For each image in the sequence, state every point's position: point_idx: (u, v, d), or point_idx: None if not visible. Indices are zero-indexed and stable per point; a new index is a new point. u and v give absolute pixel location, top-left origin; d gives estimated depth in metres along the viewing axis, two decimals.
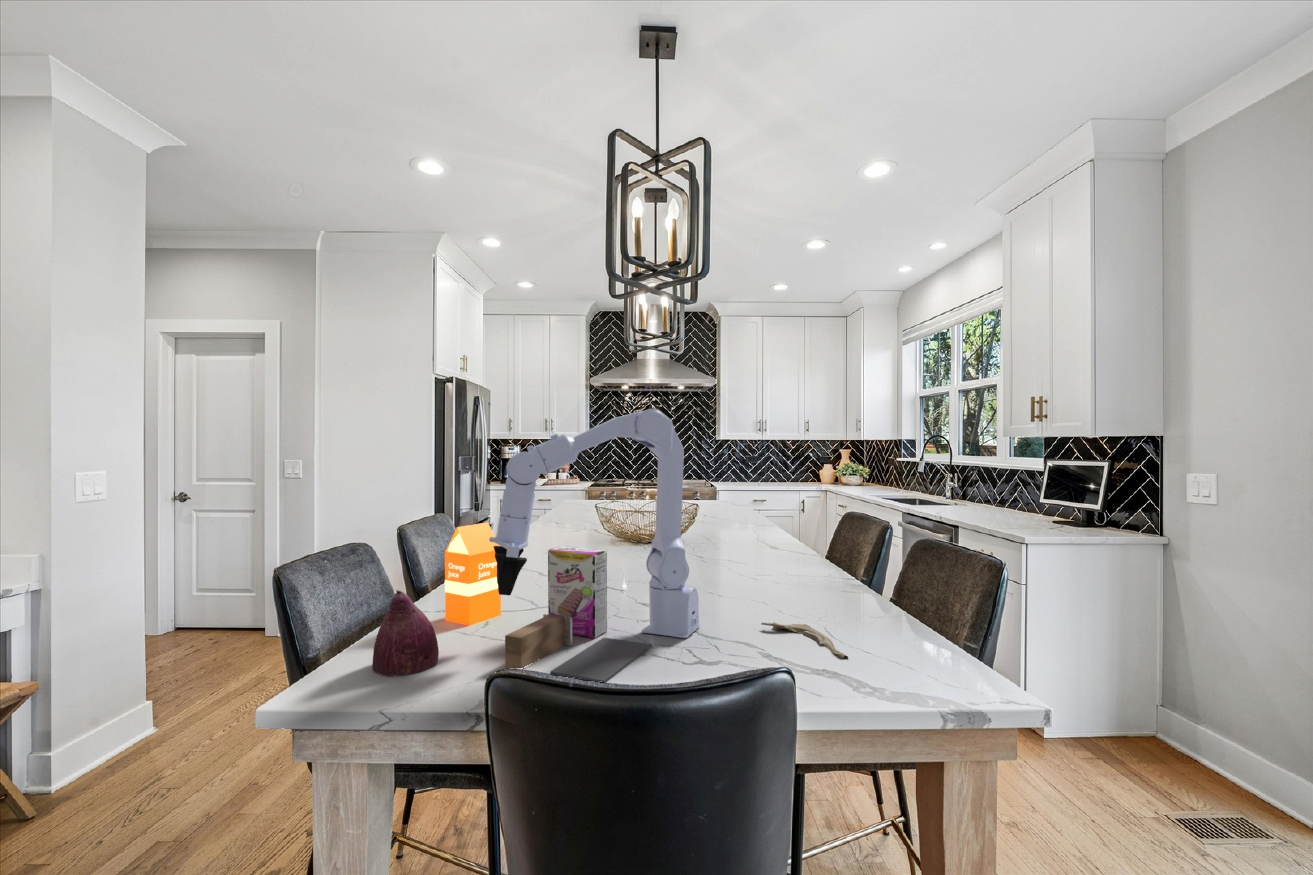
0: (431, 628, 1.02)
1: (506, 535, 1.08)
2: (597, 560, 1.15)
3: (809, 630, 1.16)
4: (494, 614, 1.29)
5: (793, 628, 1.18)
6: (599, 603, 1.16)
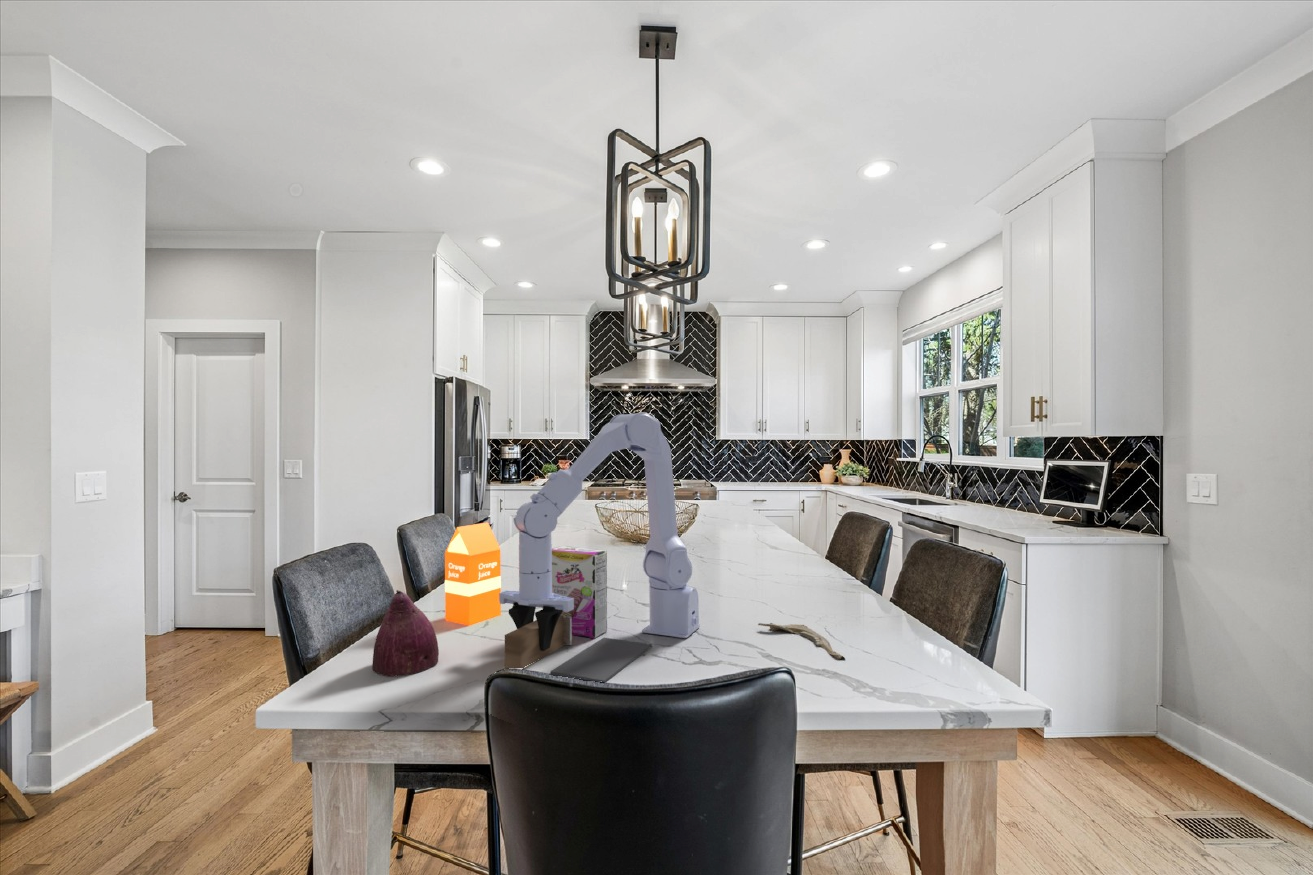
0: (431, 628, 1.02)
1: (543, 592, 1.04)
2: (597, 560, 1.15)
3: (806, 631, 1.16)
4: (494, 614, 1.29)
5: (790, 629, 1.17)
6: (599, 603, 1.16)
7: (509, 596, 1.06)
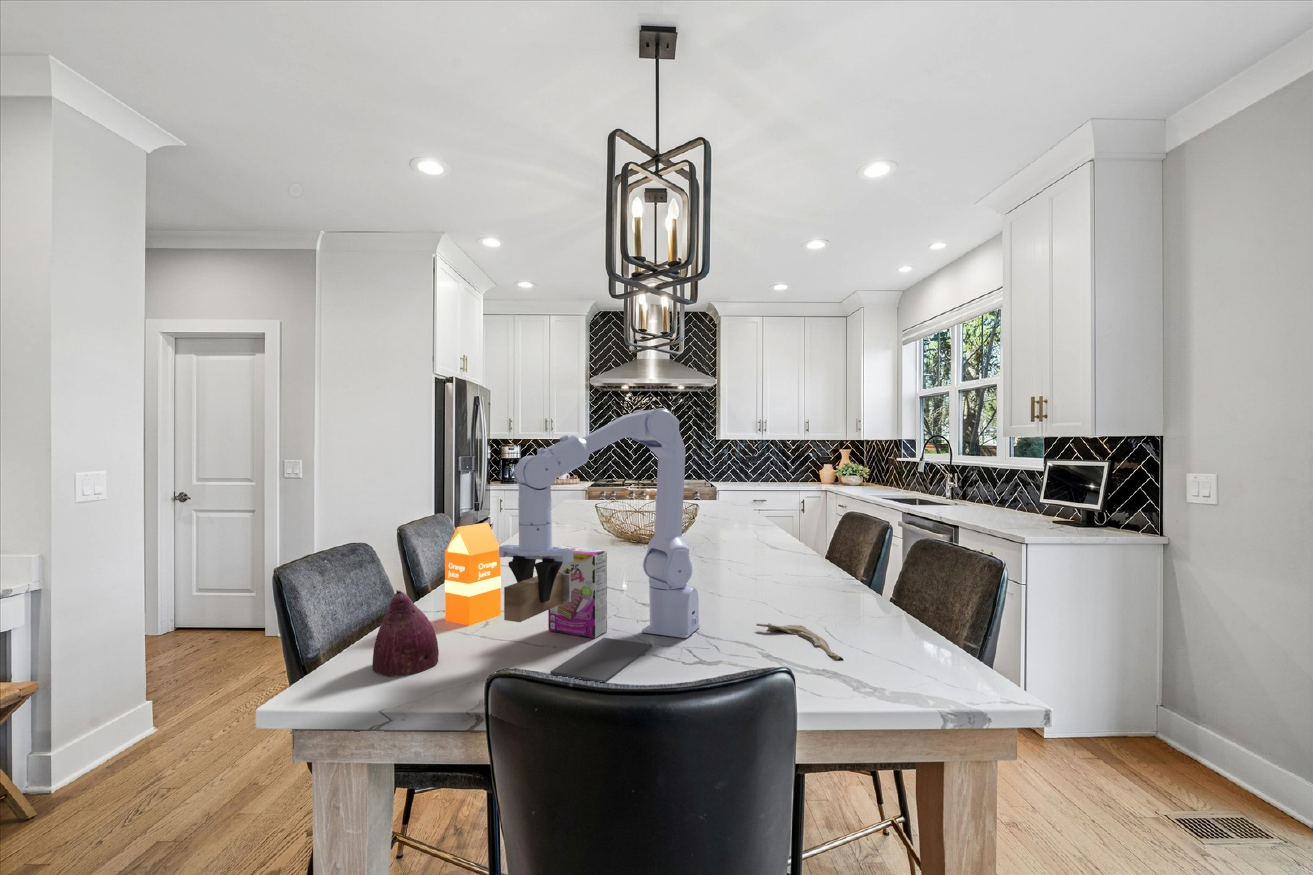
0: (431, 628, 1.02)
1: (543, 544, 1.04)
2: (597, 560, 1.15)
3: (804, 631, 1.16)
4: (494, 614, 1.29)
5: (788, 629, 1.17)
6: (599, 603, 1.16)
7: (509, 549, 1.06)
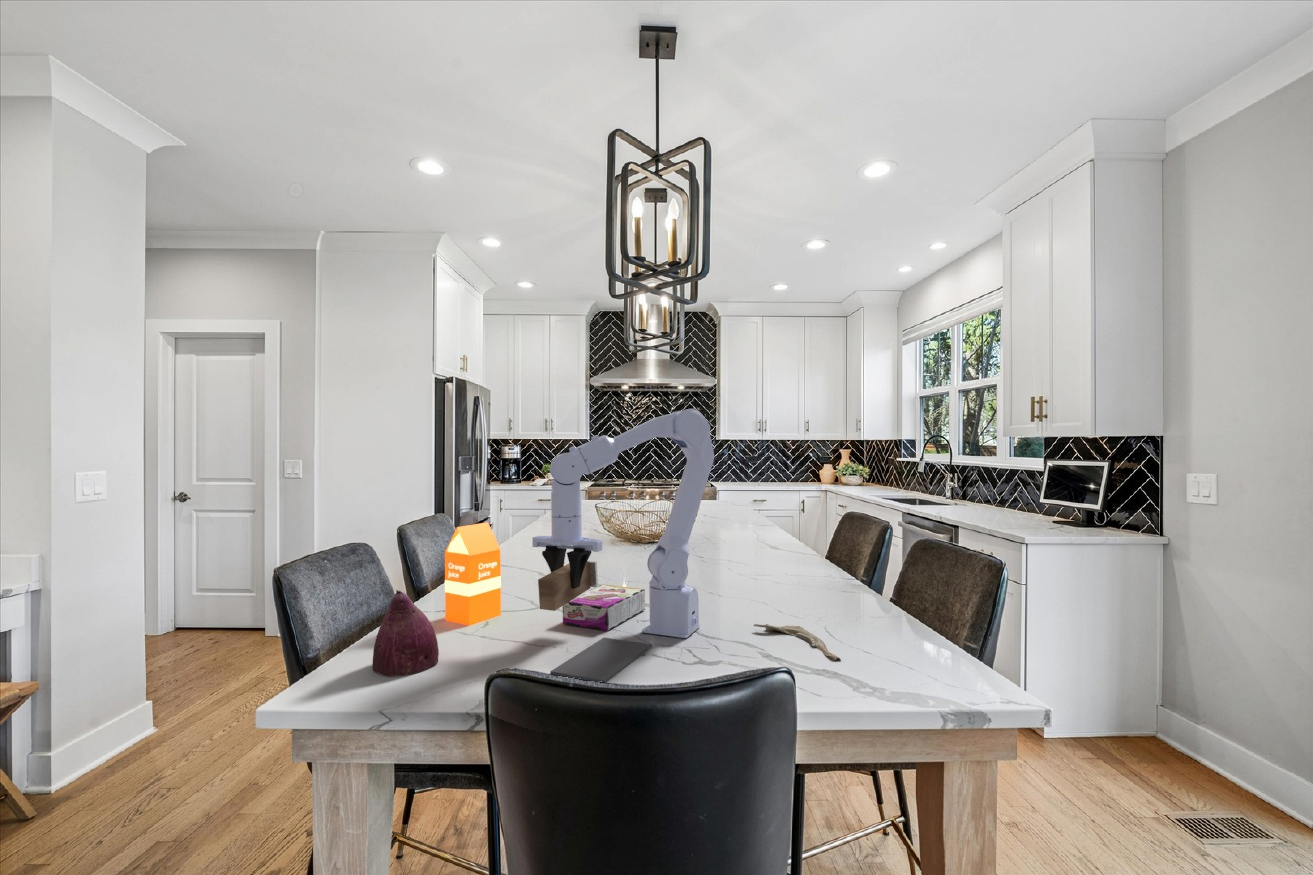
0: (431, 628, 1.02)
1: (574, 534, 1.13)
2: (642, 594, 1.32)
3: (802, 632, 1.15)
4: (494, 614, 1.29)
5: (786, 630, 1.17)
6: (623, 607, 1.25)
7: (542, 539, 1.16)
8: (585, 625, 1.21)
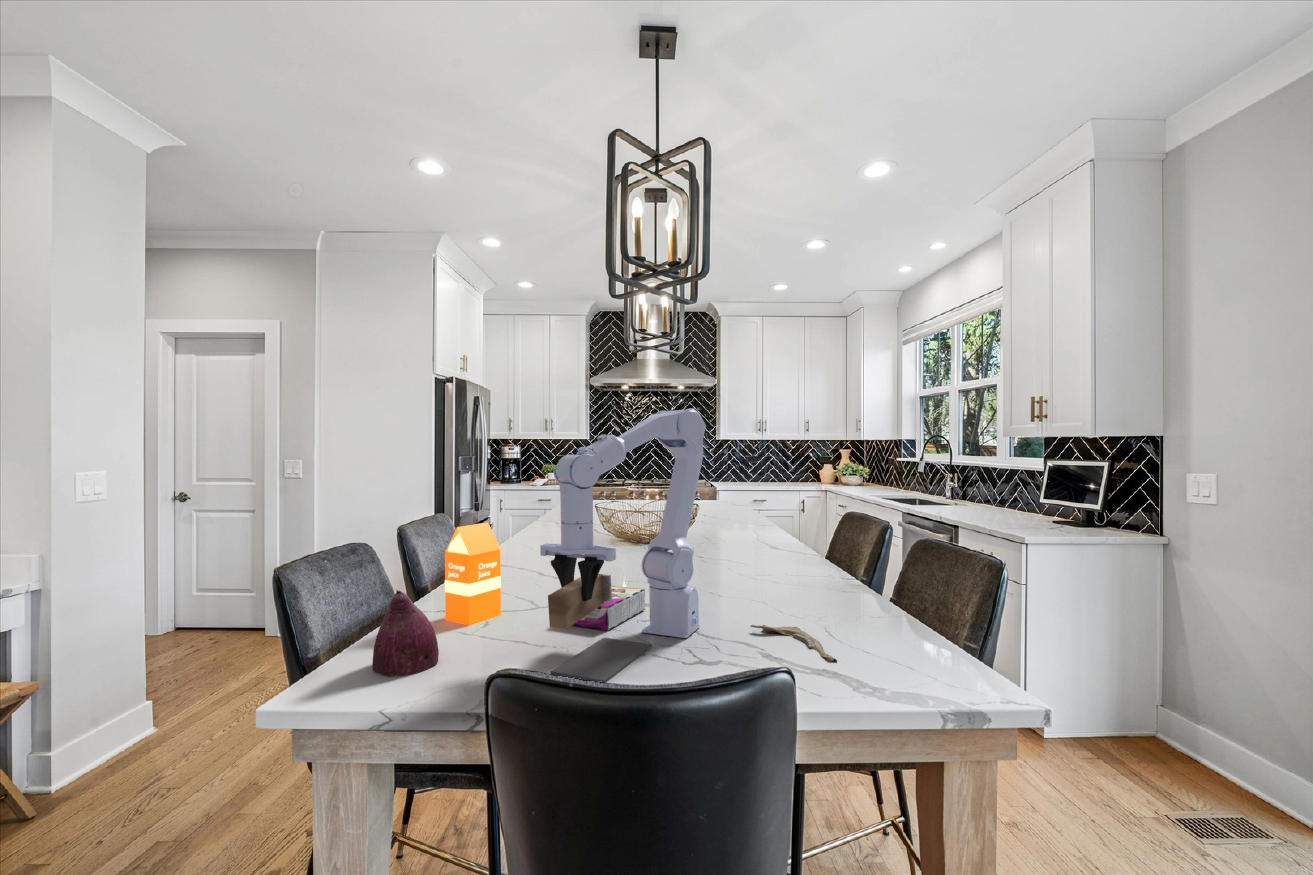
0: (431, 628, 1.02)
1: (586, 543, 1.04)
2: (642, 594, 1.32)
3: (799, 633, 1.15)
4: (494, 614, 1.29)
5: (783, 631, 1.16)
6: (623, 607, 1.25)
7: (551, 548, 1.07)
8: (585, 625, 1.21)
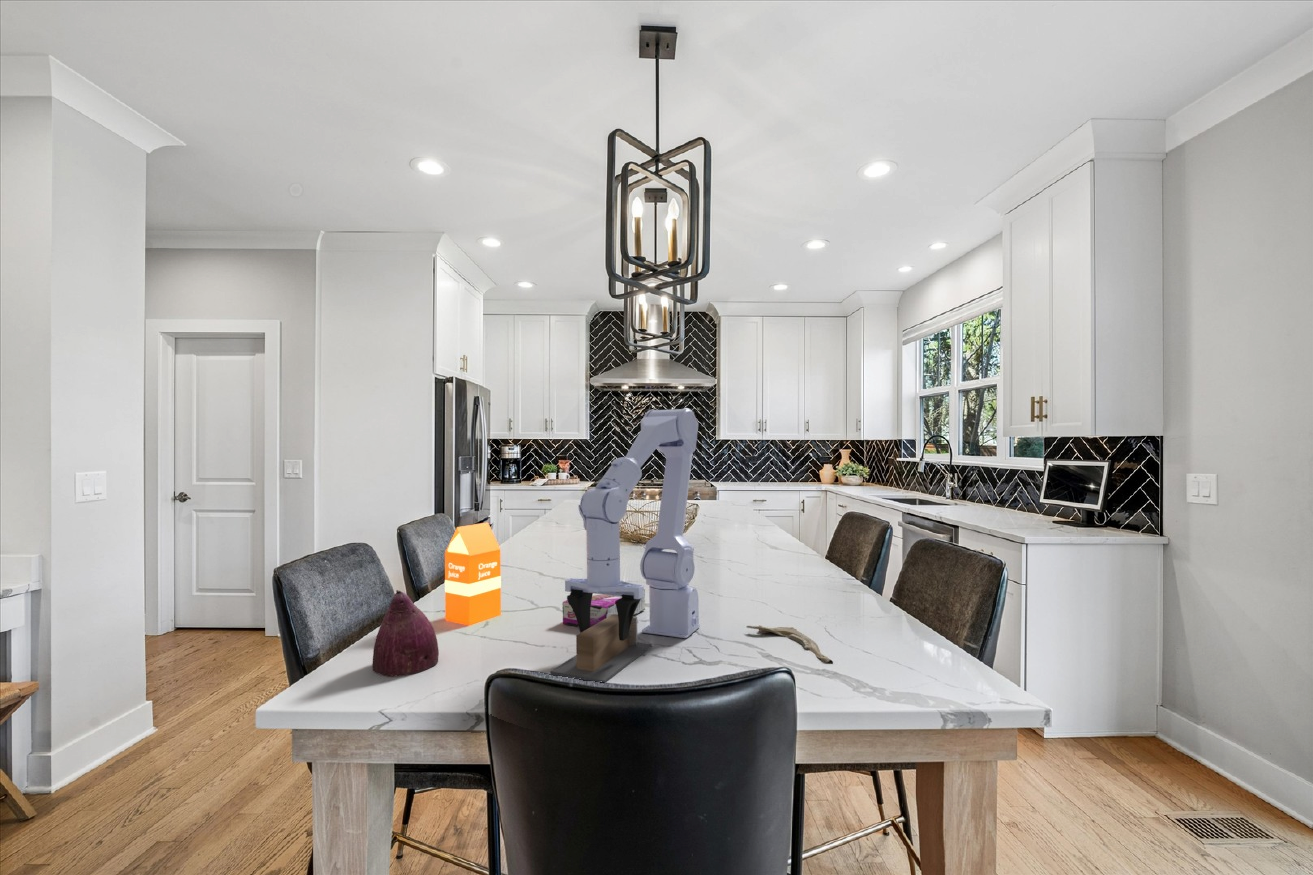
0: (431, 628, 1.02)
1: (613, 579, 1.02)
2: None
3: (795, 633, 1.14)
4: (494, 614, 1.29)
5: (779, 631, 1.16)
6: None
7: (576, 584, 1.04)
8: None
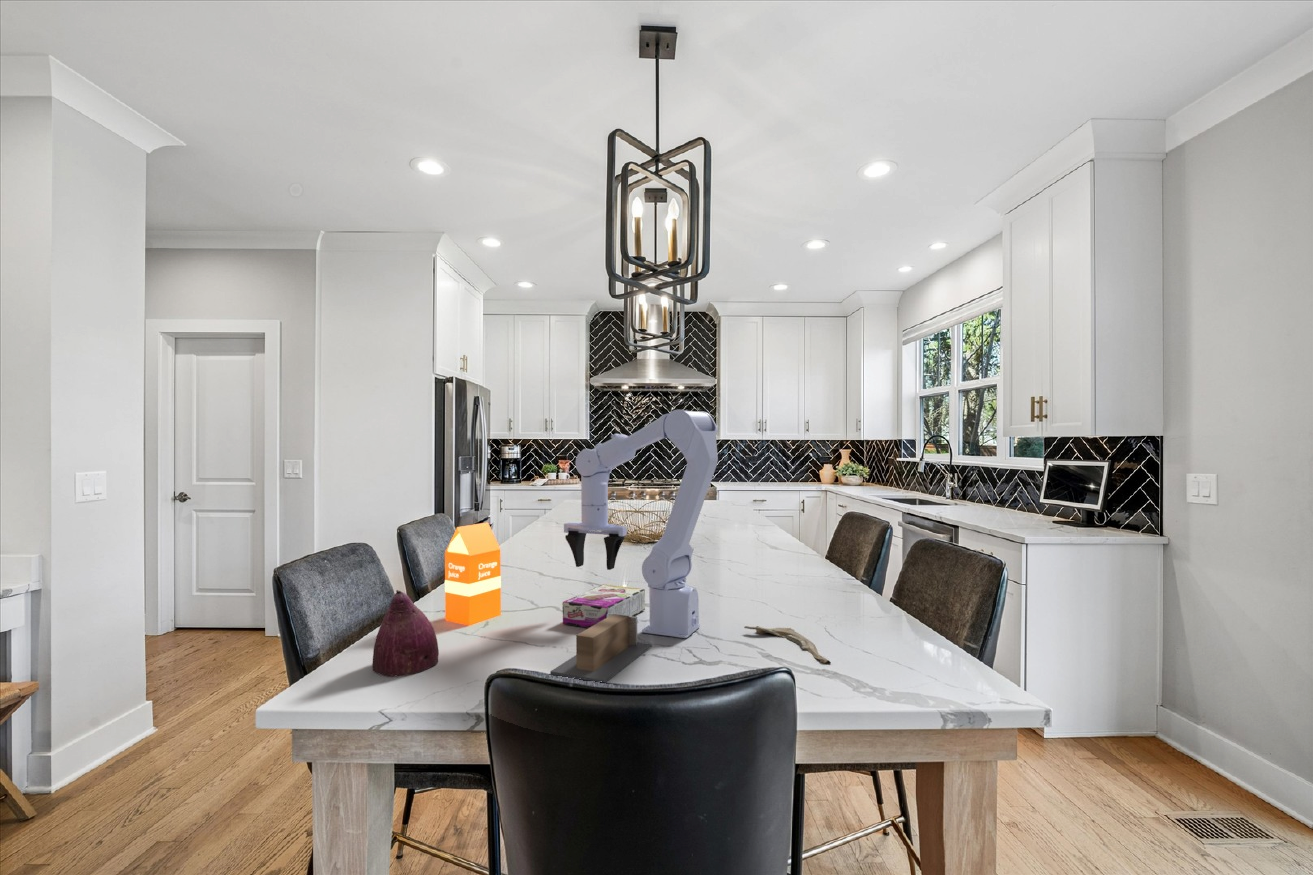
0: (431, 628, 1.02)
1: (602, 521, 1.28)
2: (642, 594, 1.32)
3: (793, 634, 1.14)
4: (494, 614, 1.29)
5: (776, 632, 1.15)
6: (623, 607, 1.25)
7: (573, 525, 1.30)
8: (585, 625, 1.21)
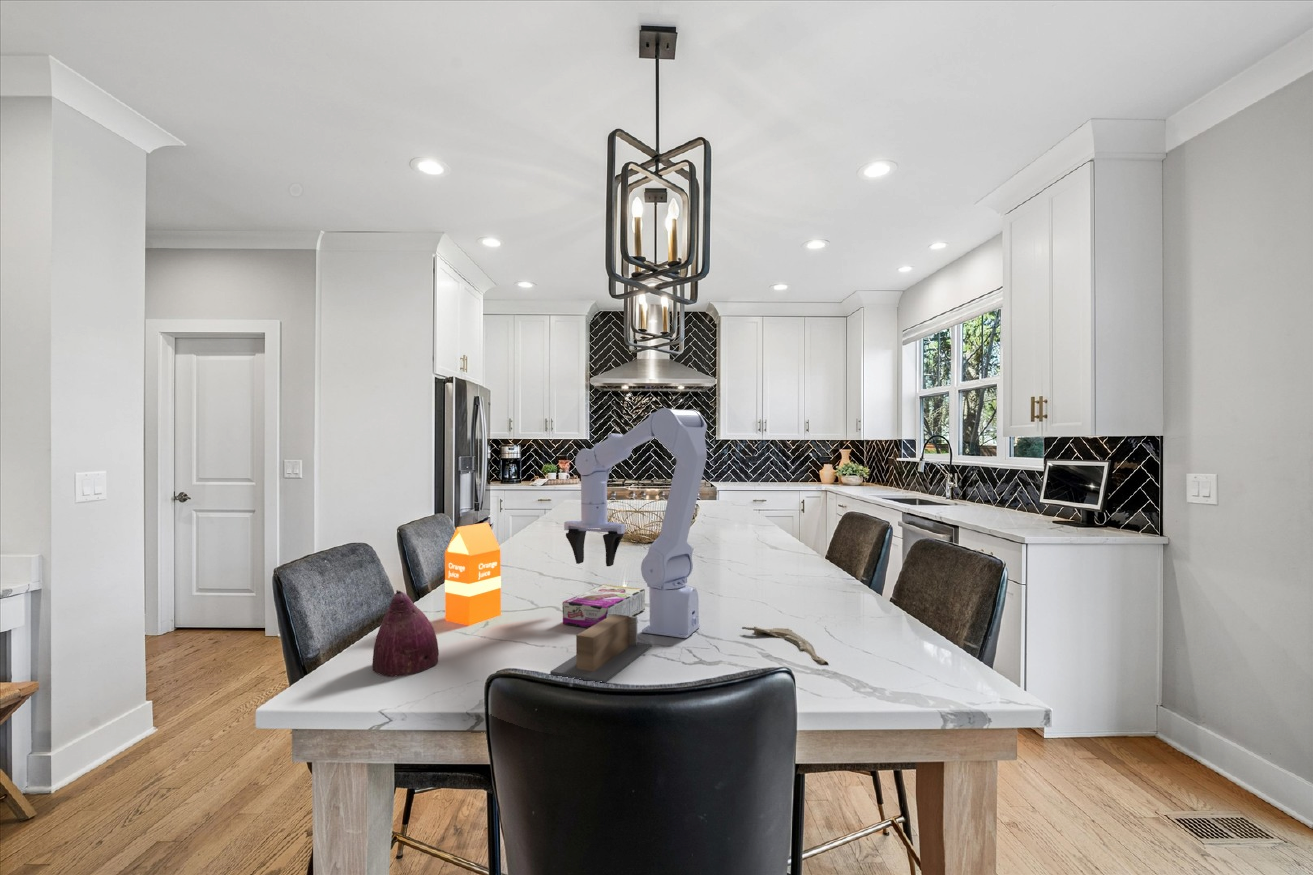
0: (431, 628, 1.02)
1: (601, 519, 1.31)
2: (642, 594, 1.32)
3: (790, 635, 1.14)
4: (494, 614, 1.29)
5: (774, 632, 1.15)
6: (623, 607, 1.25)
7: (573, 523, 1.33)
8: (585, 625, 1.21)
